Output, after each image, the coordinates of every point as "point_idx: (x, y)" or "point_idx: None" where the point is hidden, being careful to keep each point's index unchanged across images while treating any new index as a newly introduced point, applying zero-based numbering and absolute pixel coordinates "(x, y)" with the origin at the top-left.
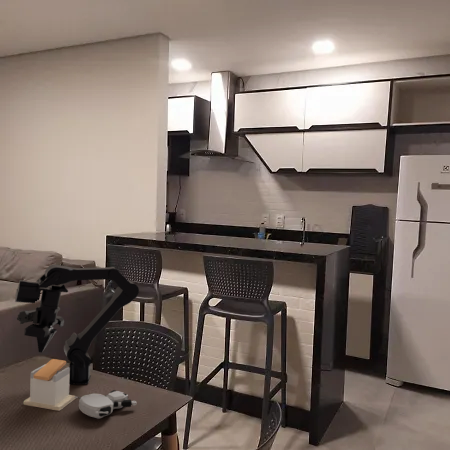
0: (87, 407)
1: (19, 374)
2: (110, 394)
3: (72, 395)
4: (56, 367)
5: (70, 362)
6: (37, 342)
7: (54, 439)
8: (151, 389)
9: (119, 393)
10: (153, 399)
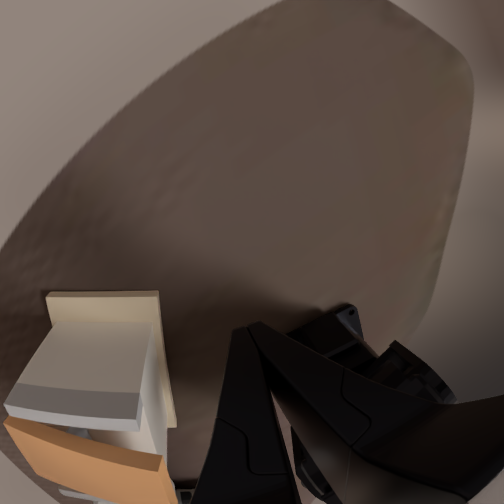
0: (93, 502)
1: (313, 54)
2: None
3: (173, 421)
4: (105, 495)
5: (355, 366)
6: (217, 417)
7: (9, 446)
8: (306, 496)
9: None
10: None
